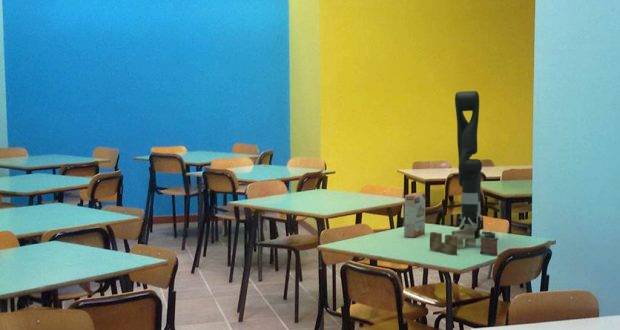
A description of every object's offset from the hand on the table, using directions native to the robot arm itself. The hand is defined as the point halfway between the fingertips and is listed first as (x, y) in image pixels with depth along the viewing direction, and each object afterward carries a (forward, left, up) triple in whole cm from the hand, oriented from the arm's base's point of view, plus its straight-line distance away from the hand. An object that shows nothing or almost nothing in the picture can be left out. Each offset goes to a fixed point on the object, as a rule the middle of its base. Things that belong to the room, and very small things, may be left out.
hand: (469, 237), depth 349 cm
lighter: (+20, +2, -4) cm, 20 cm away
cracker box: (-31, -17, -4) cm, 36 cm away
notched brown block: (+12, -16, -4) cm, 20 cm away
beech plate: (+2, -3, -4) cm, 5 cm away
